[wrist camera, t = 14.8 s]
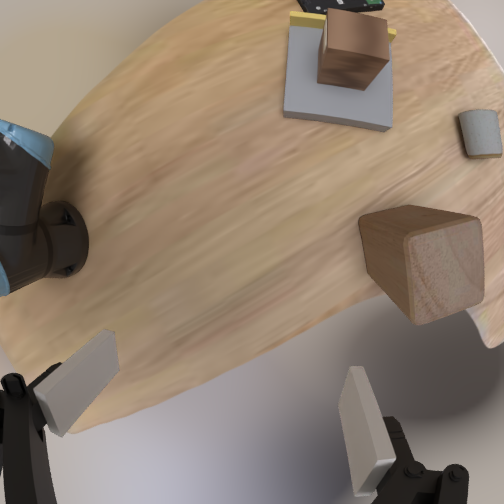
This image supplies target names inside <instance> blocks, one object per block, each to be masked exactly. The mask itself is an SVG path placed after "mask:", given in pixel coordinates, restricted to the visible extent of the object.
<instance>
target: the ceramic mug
mask: <svg viewBox="0 0 504 504" xmlns="http://www.w3.org/2000/svg"><path fill="white" fill-rule="evenodd" d="M459 120H460V124H461V128H462V133H463V137H464V142H465V147H466V151H467V154H468V156H469V158H471V159H486V158H501V156H502V141H501V135H500V128H499V122H498V116H497V112H496V111H494V110H470V111H465V112H462V113H459Z"/></svg>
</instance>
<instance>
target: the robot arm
mask: <svg viewBox="0 0 504 504" xmlns="http://www.w3.org/2000/svg"><path fill="white" fill-rule="evenodd" d="M53 151H54V143H53V140H52V139H51V138H50V137H48V136H46V135H44V134H41V133H38V132H35V131H33V130H30V129H27V128H24V127H22V126H19V125H16V124H13V123H10V122H7V121H4V120H1V119H0V297H1V296H7V295H9V294H10V293H12V292H14V291H16V290H18V289H20V288H22V287H24V286H26V285H29V284H31V283H33V282H35V281H37V280H39V279H41V278H66V277H69V276H71V275H73V274H75V273H77V272H78V271H79V270H80V269H81V268H82V267H83V265H84V263H85V261H86V258H87V254H88V233H87V229H86V226H85V223H84V220H83V218H82V216H81V215H80V213H79V212H78V211H77V209H76V208H75V207H74V206H72V205H71V204H69V203H67V202H64V201H55V202H49V203H47V204H45V205H43V206H42V207H41V203H42V198H43V193H44V189H45V184H46V180H47V176H48V172H49V170H50V169H51V166H50V163H51V159H52V155H53ZM119 370H120V369H119V363H118V356H117V349H116V341H115V332H114V331H110V330H106V329H103V330H102V331H101V332H99V333H98V334H97V335H96V336H95V337H93V338H92V339H91V340H90V341H89V342H87V343H86V344H85V345H84V346H83V347H81V348H80V349H79V350H78V351H77V352H76V353H74V354H73V355H72V356H71V357H70V358H68V359H67V360H66V361H65V362H64V363H61V362H59V363H57V364H54V365H52V366H51V367H49V368H48V369H47V370H46V372H43V373H42V374H41V375H40V376H39V377H37V378H36V379H35V380H34V381H33V382H32V383H30V384H29V385H28V386H26V384H25V381H24V378H23V376H22V375H20V374H18V373H10V374H7V375H5V376H4V377H3V378H2V379H1V384H2V387H3V389H4V391H3V390H0V475H1V471H2V467H3V478H4V491H5V501H6V504H57V501H56V497H55V493H54V488H53V483H52V478H51V472H50V467H49V460H48V453H47V446H46V437H45V431H44V428H43V427H44V426H45V425H46V424H47V425H48V427H49V429H50V431H51V432H52V433H54V434H56V435H58V436H60V437H63V436H64V435H65V433H66V432H67V431H68V430H69V429H70V427H71V426H72V425H73V424H74V423H75V422H76V420H77V419H78V418H79V417H80V416H81V414H82V413H83V412H84V411H85V410H86V409H87V407H88V406H89V405H90V404H91V403H92V402H93V400H94V399H95V398H96V397H97V396H98V395H99V393H100V392H101V391H102V390H103V389H104V388H105V386H106V385H107V384H108V383H109V382H110V381H111V380H112V378H113V377H114V376H115V375H116V374H117V373H118V371H119ZM338 407H339V412H340V417H341V422H342V427H343V433H344V438H345V443H346V449H347V454H348V460H349V466H350V472H351V478H352V484H353V491H354V496H355V497H356V496H367V495H372V493H373V492H374V491H375V489H377V494H378V496H377V497H376V499H375V500H374V501H373V502H372V503H371V504H467V497H468V484H469V474H468V471H467V470H466V468H465V467H463V466H462V465H459V464H452V465H449V466H447V467H446V468H445V469H444V471H432V470H426V468H425V467H424V465H423V464H421V463H420V462H418V461H415V460H414V458H413V455H412V453H411V450H410V448H409V445H408V442H407V440H406V439H405V435H404V433H403V430H402V427H401V425H400V423H399V422H398V421H397V420H396V419H395V418H394V417H393V416H391V417H382V415H381V412H380V410H379V407H378V404H377V401H376V399H375V396H374V394H373V391H372V388H371V385H370V383H369V380H368V378H367V375H366V373H365V370H364V368H363V367H359V366H350V367H349V371H348V374H347V377H346V381H345V384H344V387H343V390H342V394H341V397H340V400H339V403H338Z"/></svg>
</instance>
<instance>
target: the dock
mask: <svg viewBox="0 0 504 504" xmlns="http://www.w3.org/2000/svg"><path fill="white" fill-rule="evenodd" d="M325 19H326V15H321V14H314V13H305V12H294V11H290V30H289V45H288V59H287V72H286V86H285V98H284V117H288V118H297V119H306V120H314V121H322V122H329V123H336V124H342V125H348V126H354V127H360V128H365V129H371V130H376V131H381V132H385V131H387V130H389V129H390V128H392V117H393V84H392V57H391V42H392V40H393V39H394V38H395V36H396V30H394V29H390V28H388V39H389V54H390V61H389V62H388V63H387V64H386V65H385V67H384V68H383V69H382V70H381V71H380V73H379V74H378V75H377V76H376V77H375V79H374V80H373V81H372V82H371V83H370V85H369V86H368V87H367V88H366V89H365V91H361V90H356V89H350V88H344V87H338V86H332V85H325V84H318V83H317V72H318V49H319V45H320V40H321V36H322V32H323V27H324V23H325Z"/></svg>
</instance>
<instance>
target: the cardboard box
mask: <svg viewBox="0 0 504 504" xmlns="http://www.w3.org/2000/svg"><path fill="white" fill-rule="evenodd" d="M389 61H390V54H389V39H388V27H387V20H385V19H381V18H377V17H373V16H369V15H364V14H360V13H355V12H350V11H344V10H338V9H332V8H328V10H327V14H326V19H325V23H324V27H323V32H322V36H321V40H320V45H319V49H318V72H317V83H318V84H325V85H332V86H338V87H344V88H350V89H356V90H361V91H365V89H366V88H367V87H368V86H369V85H370V83H371V82H372V81H373V80H374V79H375V77H376V76H377V75H378V74H379V73H380V71H381V70H382V69H383V68H384V67H385V65H386V64H387V63H388V62H389Z"/></svg>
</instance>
